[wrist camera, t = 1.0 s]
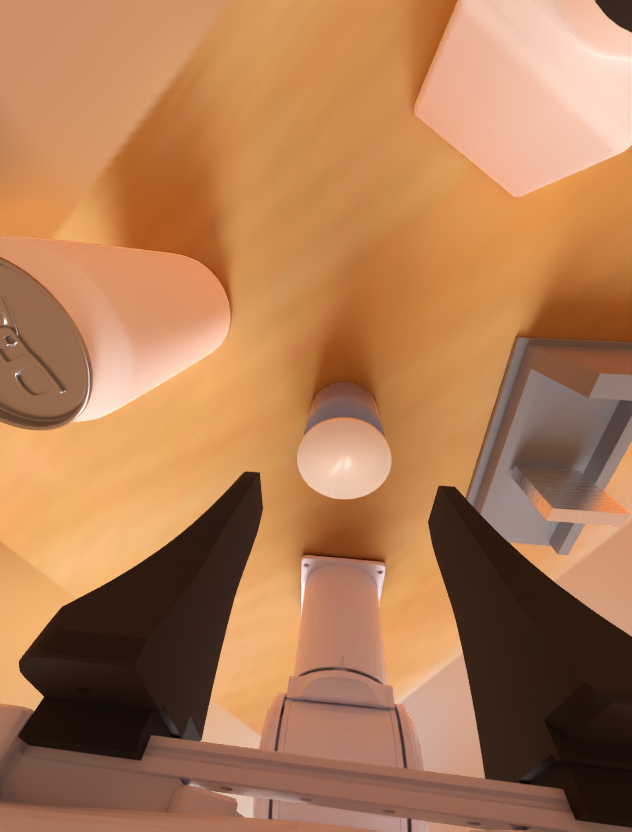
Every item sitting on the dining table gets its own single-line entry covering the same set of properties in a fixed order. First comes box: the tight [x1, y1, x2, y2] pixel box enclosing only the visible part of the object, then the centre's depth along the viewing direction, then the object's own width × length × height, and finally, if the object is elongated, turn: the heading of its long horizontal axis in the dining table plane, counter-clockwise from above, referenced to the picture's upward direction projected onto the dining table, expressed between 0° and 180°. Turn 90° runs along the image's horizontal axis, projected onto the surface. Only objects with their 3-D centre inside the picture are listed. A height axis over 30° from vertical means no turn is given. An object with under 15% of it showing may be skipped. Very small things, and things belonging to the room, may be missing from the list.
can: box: [0, 236, 230, 430], centre depth 15 cm, size 6×6×12 cm
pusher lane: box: [466, 337, 632, 555], centre depth 20 cm, size 17×9×6 cm, turn 178°
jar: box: [297, 382, 392, 499], centre depth 19 cm, size 5×5×6 cm
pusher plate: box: [511, 466, 630, 527], centre depth 20 cm, size 1×4×4 cm, turn 89°
